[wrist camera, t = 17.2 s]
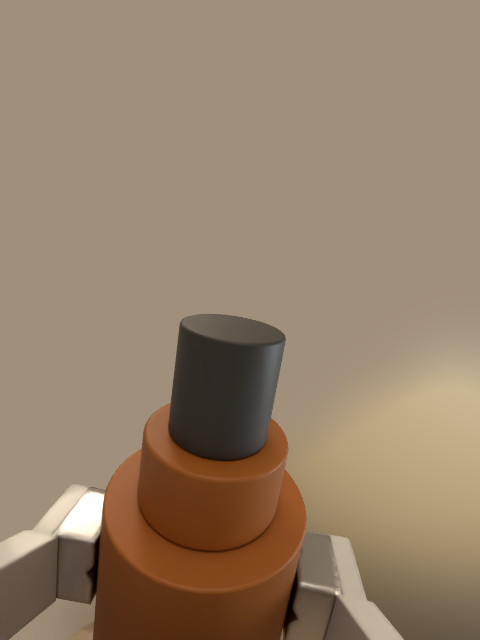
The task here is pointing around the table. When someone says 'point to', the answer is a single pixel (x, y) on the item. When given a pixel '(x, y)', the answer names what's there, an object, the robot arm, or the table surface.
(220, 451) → the lotion bottle
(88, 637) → the table surface
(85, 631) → the table surface
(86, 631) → the table surface
